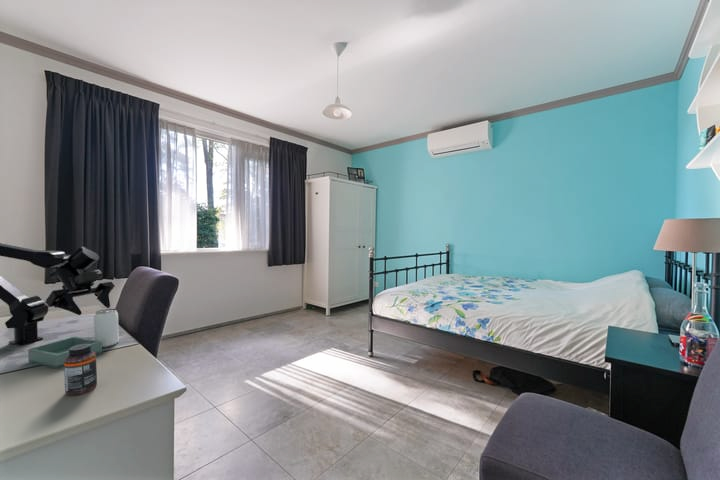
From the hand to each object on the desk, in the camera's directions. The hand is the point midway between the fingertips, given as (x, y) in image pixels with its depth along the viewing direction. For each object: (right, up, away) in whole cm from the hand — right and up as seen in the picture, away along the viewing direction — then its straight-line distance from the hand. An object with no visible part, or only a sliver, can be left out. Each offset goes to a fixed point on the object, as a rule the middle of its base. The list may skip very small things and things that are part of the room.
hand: (95, 310), depth 107 cm
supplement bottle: (+24, -13, -31) cm, 41 cm away
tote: (+1, -12, -12) cm, 17 cm away
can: (+5, -12, -1) cm, 13 cm away
